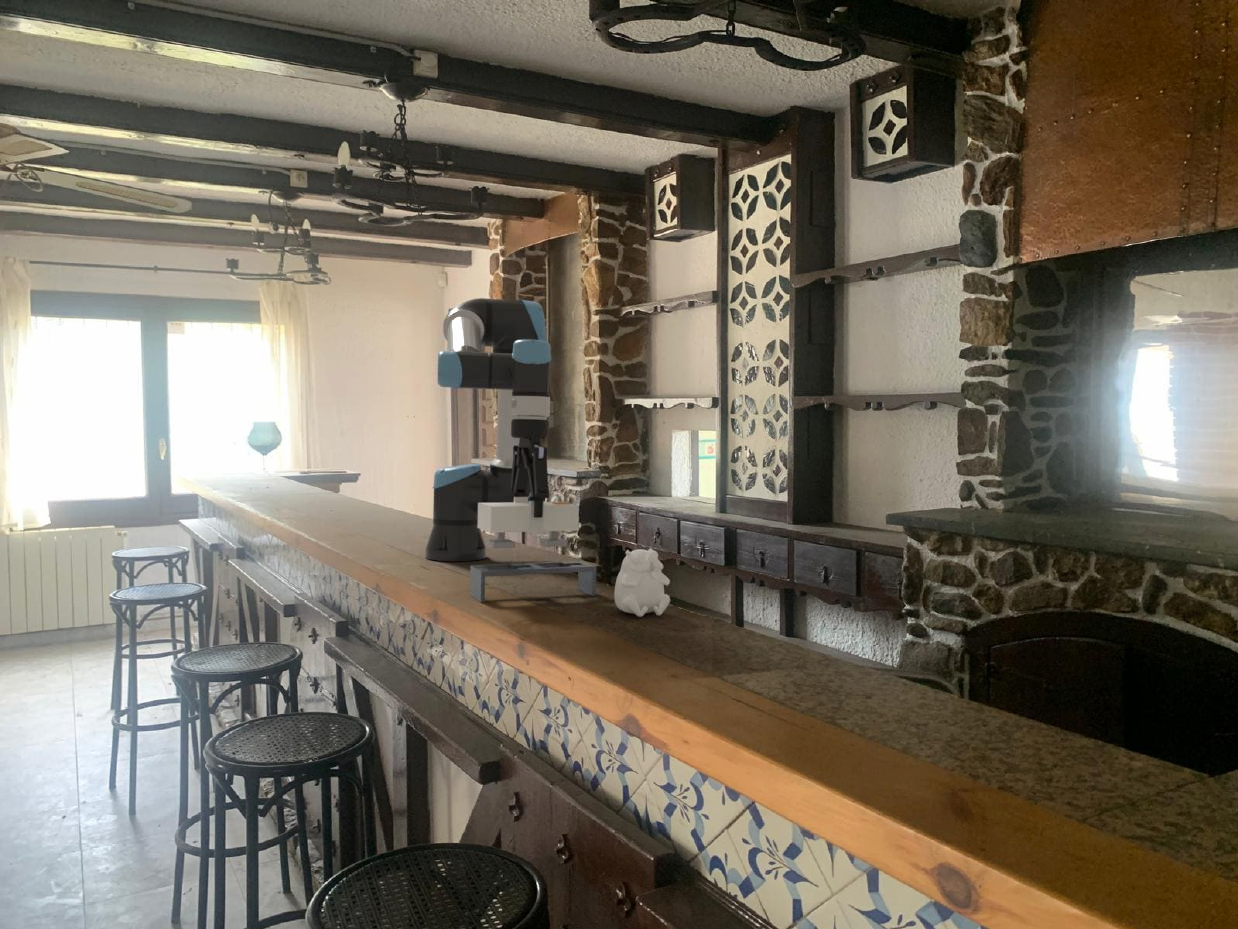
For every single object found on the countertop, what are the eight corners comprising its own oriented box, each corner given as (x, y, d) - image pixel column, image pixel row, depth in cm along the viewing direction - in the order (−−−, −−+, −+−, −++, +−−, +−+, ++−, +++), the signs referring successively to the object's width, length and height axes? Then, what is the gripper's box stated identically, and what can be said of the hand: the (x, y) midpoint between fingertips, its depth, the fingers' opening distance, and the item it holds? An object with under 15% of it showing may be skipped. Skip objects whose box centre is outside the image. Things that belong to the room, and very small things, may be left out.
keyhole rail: (469, 595, 184) (470, 565, 184) (581, 589, 194) (582, 560, 194) (480, 602, 178) (481, 571, 177) (595, 595, 188) (596, 566, 187)
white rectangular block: (477, 544, 185) (478, 501, 185) (561, 542, 192) (562, 500, 192) (490, 550, 177) (491, 504, 176) (577, 547, 184) (578, 503, 184)
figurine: (604, 610, 174) (606, 546, 173) (650, 607, 178) (652, 544, 177) (627, 621, 165) (628, 554, 164) (675, 617, 169) (677, 552, 168)
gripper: (495, 417, 192) (493, 526, 193) (530, 417, 172) (527, 538, 173) (530, 418, 195) (527, 525, 196) (568, 418, 175) (565, 537, 176)
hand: (527, 531), depth 184 cm, fingers closed on white rectangular block, 9 cm apart
